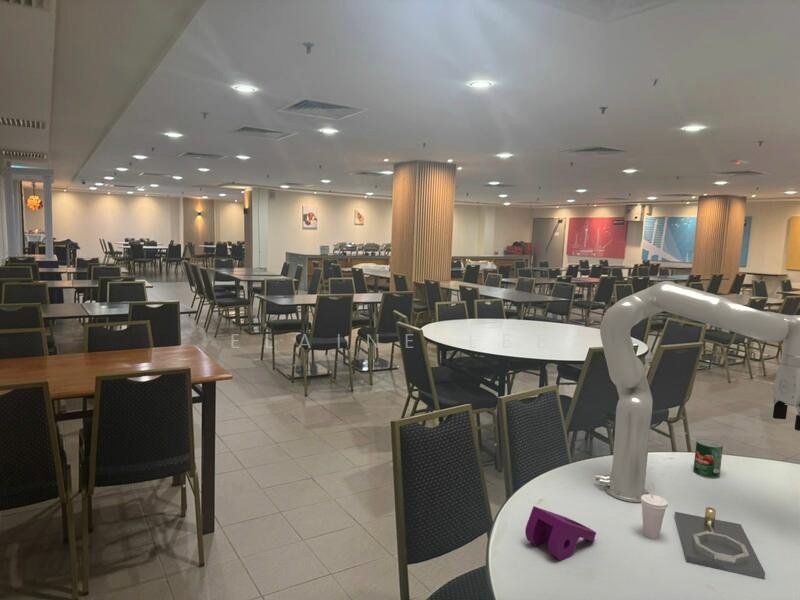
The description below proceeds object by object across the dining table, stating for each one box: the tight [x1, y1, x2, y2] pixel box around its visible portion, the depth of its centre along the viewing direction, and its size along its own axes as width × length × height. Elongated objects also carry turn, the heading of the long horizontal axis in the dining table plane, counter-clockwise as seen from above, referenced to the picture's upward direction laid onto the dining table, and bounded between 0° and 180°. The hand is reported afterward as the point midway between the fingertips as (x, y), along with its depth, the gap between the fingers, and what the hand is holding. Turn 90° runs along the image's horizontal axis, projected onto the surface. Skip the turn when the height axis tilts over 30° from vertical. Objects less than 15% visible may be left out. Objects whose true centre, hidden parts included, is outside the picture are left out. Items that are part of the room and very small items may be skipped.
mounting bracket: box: [524, 506, 597, 562], centre depth 134 cm, size 9×8×18 cm
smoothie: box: [640, 482, 669, 540], centre depth 140 cm, size 6×6×14 cm
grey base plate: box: [674, 507, 766, 580], centre depth 137 cm, size 16×24×6 cm, turn 159°
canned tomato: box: [693, 438, 724, 480], centre depth 182 cm, size 8×8×11 cm
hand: (789, 424), depth 144 cm, fingers open, 9 cm apart
